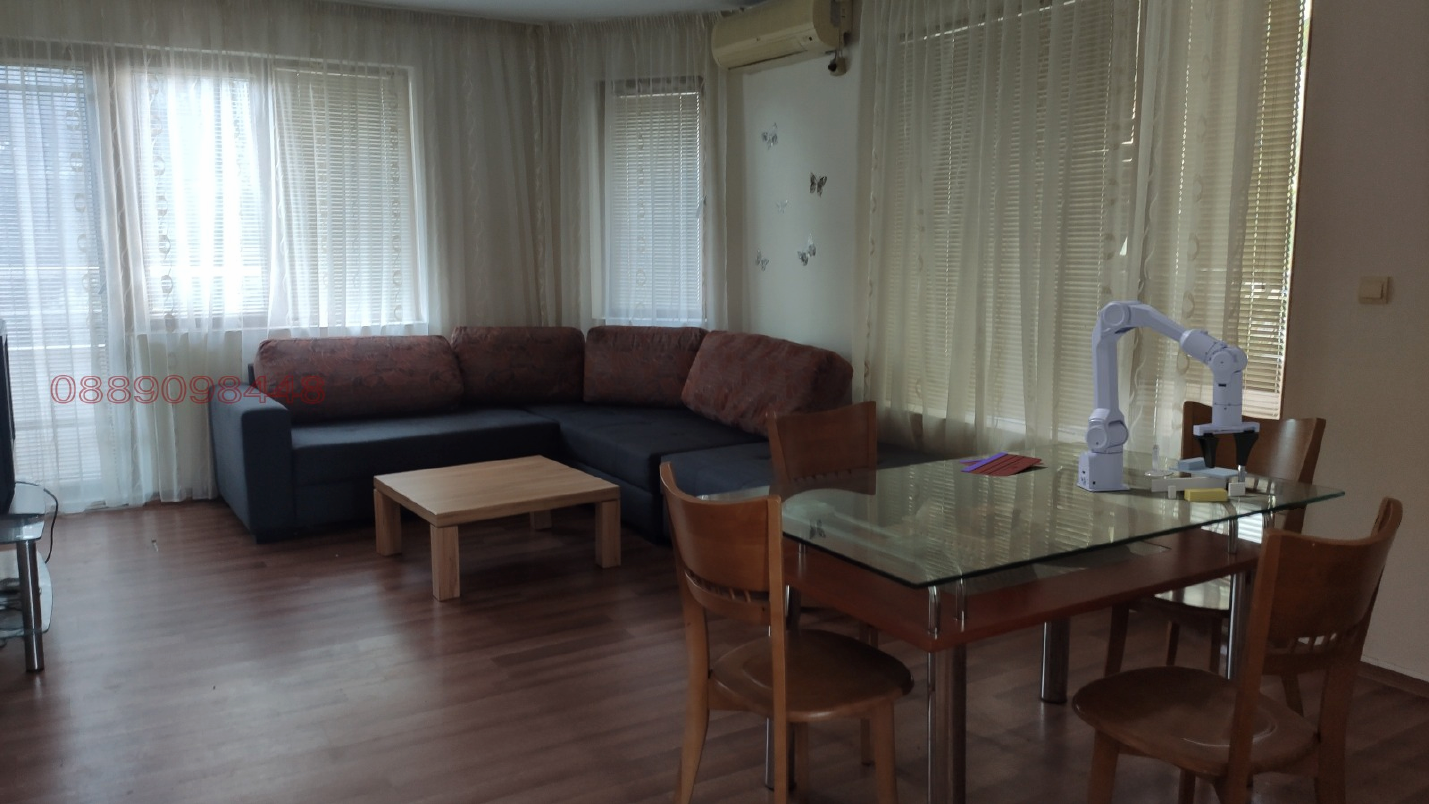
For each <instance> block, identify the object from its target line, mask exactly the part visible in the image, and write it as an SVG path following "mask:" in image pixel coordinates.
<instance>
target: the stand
mask: <svg viewBox="0 0 1429 804" xmlns="http://www.w3.org/2000/svg"><path fill="white" fill-rule="evenodd" d="M1160 449H1161V448H1160V445H1159V444H1153V445H1152V469H1151V470H1148V471H1147V470H1146V471H1144V472H1145V473H1144V475H1145V476H1149V477H1166V476H1169V474H1170V475H1172V474H1173V470H1169V469H1161V468H1159V467H1160V466H1159V465H1160V464H1159V463H1160Z"/></svg>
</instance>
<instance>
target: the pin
mask: <svg viewBox="0 0 1429 804" xmlns="http://www.w3.org/2000/svg"><path fill="white" fill-rule="evenodd" d="M1237 471H1238V476H1237V483H1245V484H1246V482H1245V480H1246V477H1245V476H1246V475H1245V472H1246V466H1240V465H1237Z"/></svg>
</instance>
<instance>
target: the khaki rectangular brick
mask: <svg viewBox="0 0 1429 804" xmlns="http://www.w3.org/2000/svg"><path fill="white" fill-rule="evenodd" d="M1184 500H1186V501H1188V502H1189V503H1191V502H1198V503H1199V502H1228V490H1226V489H1222V488H1210V489H1185V491H1184Z"/></svg>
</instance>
